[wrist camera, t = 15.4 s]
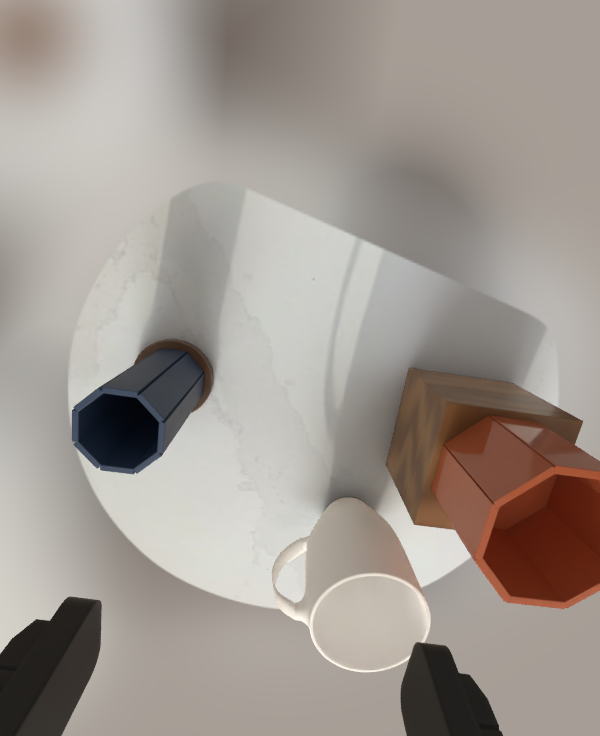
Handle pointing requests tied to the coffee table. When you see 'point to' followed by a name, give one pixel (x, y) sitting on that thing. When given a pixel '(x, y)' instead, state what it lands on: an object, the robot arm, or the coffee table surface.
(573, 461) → the terracotta cup
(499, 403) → the riser
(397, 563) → the mug
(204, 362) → the coaster
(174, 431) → the slate cup
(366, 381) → the coffee table surface
